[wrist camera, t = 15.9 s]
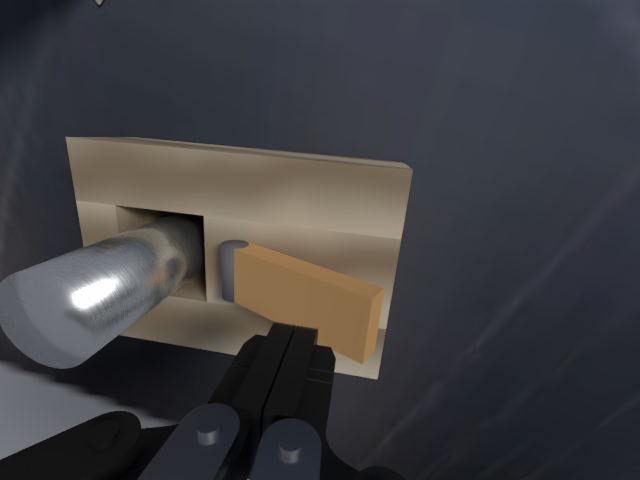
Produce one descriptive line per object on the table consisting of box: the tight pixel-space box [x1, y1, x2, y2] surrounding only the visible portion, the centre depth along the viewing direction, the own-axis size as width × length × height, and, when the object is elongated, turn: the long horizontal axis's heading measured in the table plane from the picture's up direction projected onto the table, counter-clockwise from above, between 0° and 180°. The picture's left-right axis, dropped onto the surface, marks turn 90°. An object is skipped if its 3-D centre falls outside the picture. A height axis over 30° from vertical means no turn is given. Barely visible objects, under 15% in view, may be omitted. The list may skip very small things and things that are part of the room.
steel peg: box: [0, 212, 205, 369], centre depth 17 cm, size 4×4×12 cm
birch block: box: [66, 137, 413, 379], centre depth 20 cm, size 12×18×5 cm, turn 85°
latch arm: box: [221, 240, 385, 365], centre depth 15 cm, size 9×3×1 cm, turn 85°
